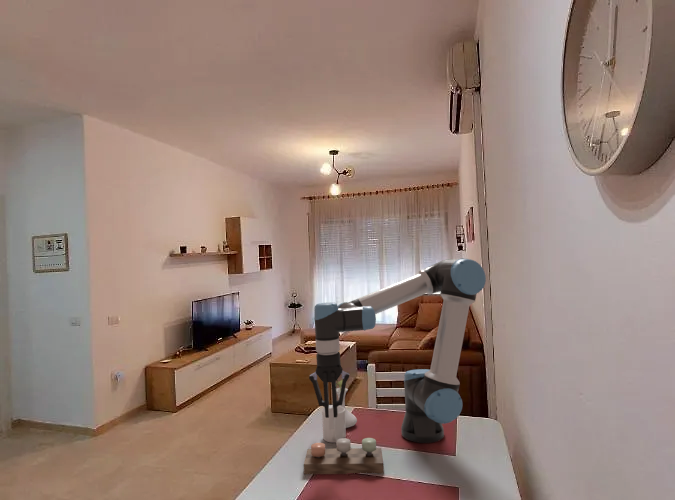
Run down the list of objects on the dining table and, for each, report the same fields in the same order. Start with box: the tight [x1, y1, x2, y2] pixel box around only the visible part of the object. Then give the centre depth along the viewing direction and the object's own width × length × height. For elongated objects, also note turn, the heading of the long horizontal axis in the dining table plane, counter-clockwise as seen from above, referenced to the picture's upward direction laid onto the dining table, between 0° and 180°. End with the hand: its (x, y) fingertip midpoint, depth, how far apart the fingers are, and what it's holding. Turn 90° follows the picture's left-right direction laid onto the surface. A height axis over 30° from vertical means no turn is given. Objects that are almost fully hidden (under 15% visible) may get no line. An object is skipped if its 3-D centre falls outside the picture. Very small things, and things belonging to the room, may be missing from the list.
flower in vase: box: [331, 378, 358, 429], centre depth 158 cm, size 13×11×25 cm
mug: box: [321, 406, 347, 444], centre depth 145 cm, size 12×8×10 cm
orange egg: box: [310, 442, 326, 458], centre depth 128 cm, size 4×4×4 cm
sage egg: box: [361, 437, 377, 456], centre depth 127 cm, size 4×4×4 cm
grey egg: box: [335, 437, 352, 456], centre depth 127 cm, size 4×4×4 cm
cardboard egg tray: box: [303, 447, 385, 475], centre depth 127 cm, size 24×10×3 cm, turn 88°
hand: (332, 427), depth 128 cm, fingers closed
